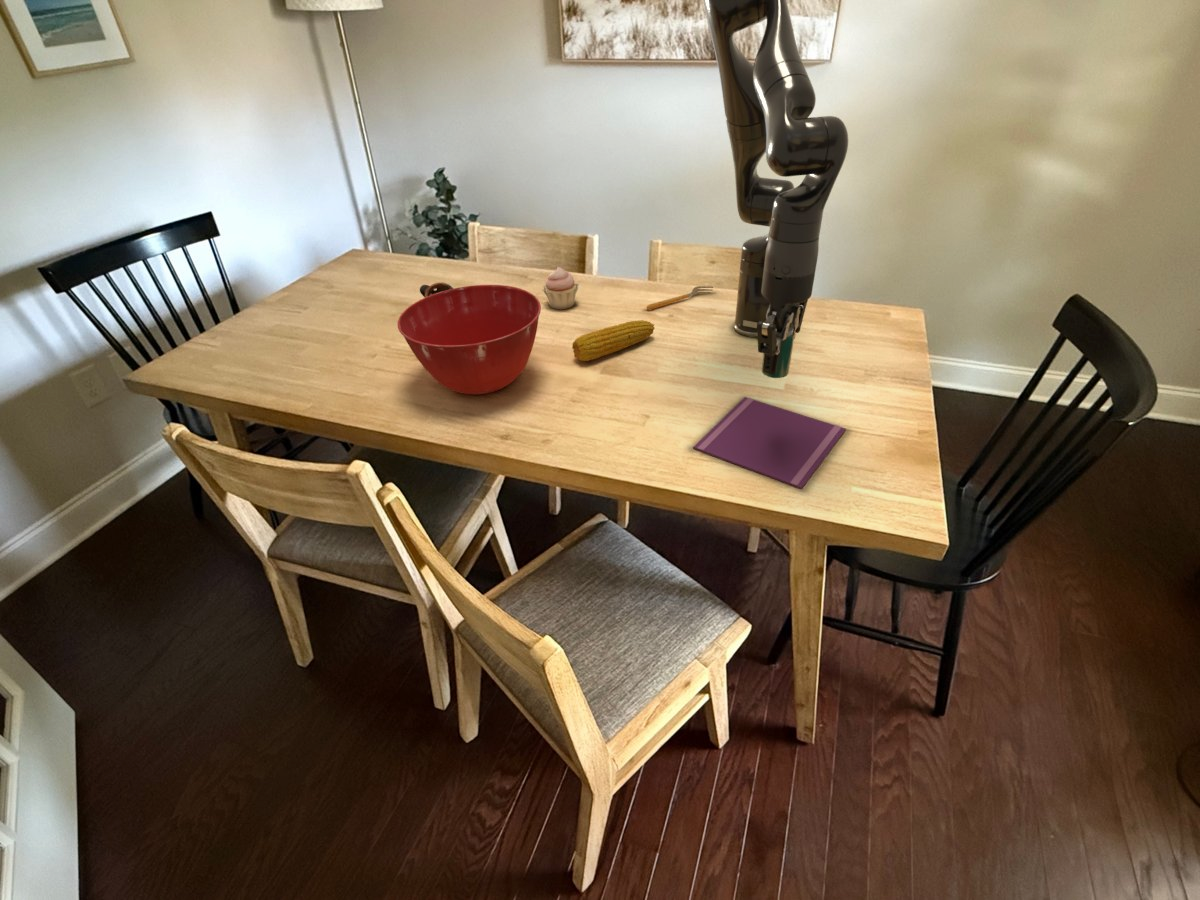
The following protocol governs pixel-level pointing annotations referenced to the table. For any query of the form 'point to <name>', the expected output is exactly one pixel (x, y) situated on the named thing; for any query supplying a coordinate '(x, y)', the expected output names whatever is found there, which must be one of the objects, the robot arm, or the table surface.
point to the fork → (679, 297)
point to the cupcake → (560, 289)
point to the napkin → (771, 441)
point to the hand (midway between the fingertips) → (776, 365)
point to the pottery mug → (429, 290)
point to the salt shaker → (783, 355)
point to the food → (611, 339)
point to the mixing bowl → (473, 335)
